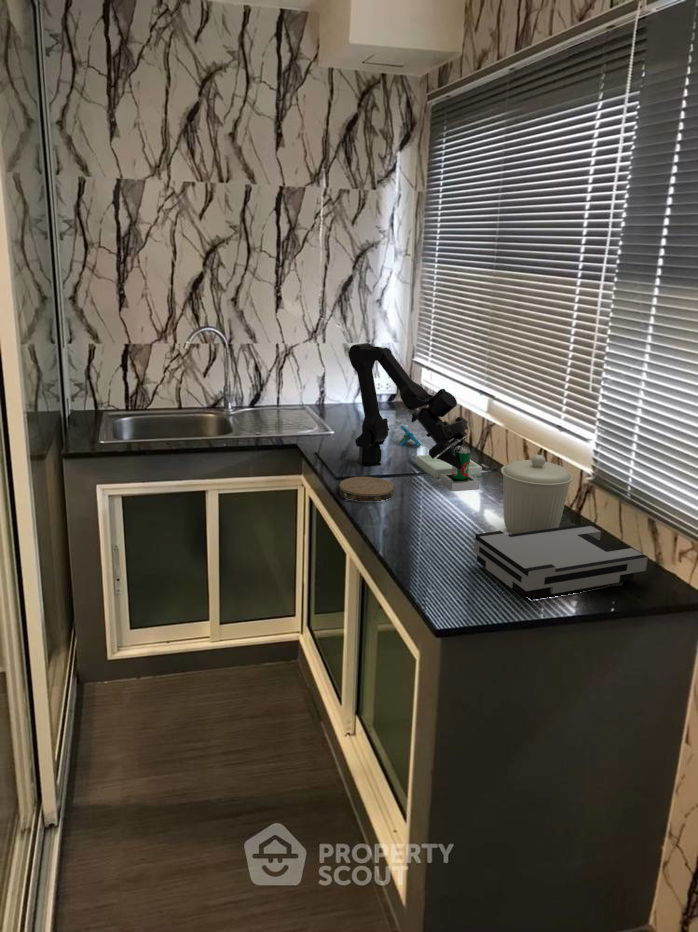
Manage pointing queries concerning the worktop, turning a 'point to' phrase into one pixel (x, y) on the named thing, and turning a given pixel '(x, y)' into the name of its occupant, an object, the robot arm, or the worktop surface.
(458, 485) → the steel socket
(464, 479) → the soda can
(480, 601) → the worktop surface
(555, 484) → the canister
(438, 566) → the worktop surface
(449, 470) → the sage tray
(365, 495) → the tan round disc
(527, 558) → the game console
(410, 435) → the gear
